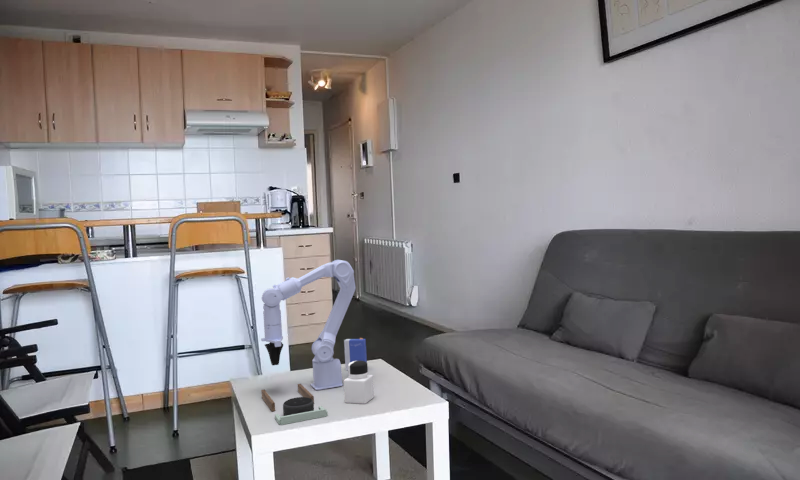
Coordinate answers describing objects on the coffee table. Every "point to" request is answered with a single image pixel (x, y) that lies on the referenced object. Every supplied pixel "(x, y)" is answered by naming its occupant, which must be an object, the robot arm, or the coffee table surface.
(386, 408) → the coffee table surface
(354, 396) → the medicine bottle
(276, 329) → the robot arm
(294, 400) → the smart speaker
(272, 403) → the chute
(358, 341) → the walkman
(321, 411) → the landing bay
